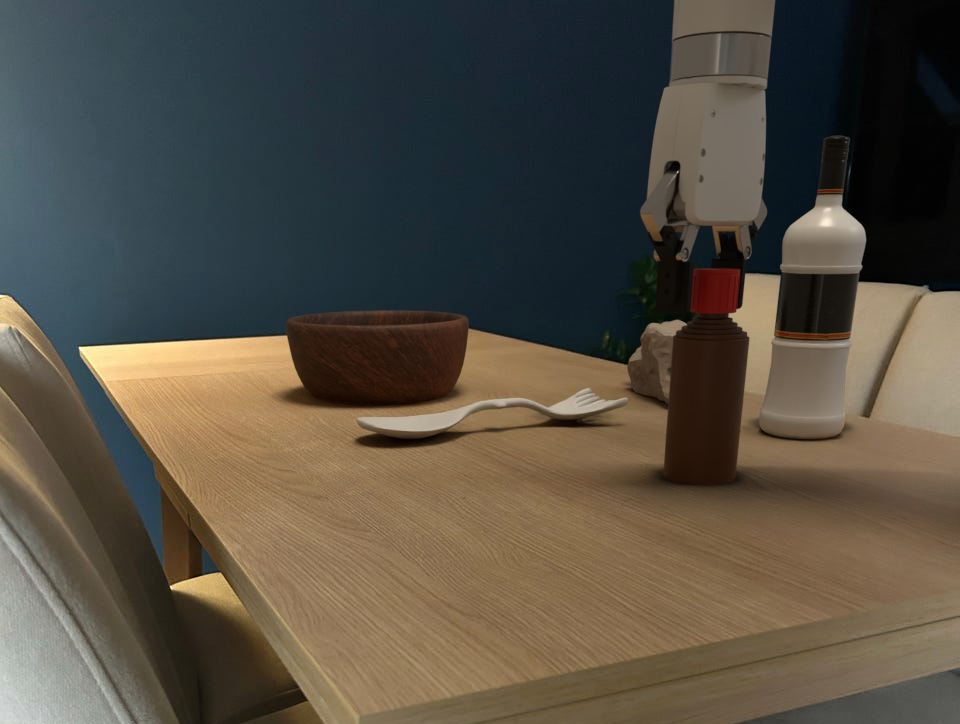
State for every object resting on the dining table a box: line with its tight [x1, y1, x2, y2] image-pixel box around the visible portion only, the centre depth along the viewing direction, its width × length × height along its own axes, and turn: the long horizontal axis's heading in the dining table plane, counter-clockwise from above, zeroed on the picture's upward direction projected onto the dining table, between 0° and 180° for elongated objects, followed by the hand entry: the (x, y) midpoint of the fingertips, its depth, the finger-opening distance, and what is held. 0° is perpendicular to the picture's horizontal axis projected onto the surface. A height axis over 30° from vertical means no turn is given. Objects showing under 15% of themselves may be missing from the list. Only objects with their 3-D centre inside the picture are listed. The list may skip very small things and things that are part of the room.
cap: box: [690, 267, 740, 315], centre depth 82 cm, size 4×4×3 cm
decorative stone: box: [626, 319, 687, 405], centre depth 130 cm, size 20×8×10 cm, turn 12°
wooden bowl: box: [284, 309, 470, 405], centre depth 135 cm, size 25×25×10 cm
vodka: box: [758, 135, 867, 440], centre depth 104 cm, size 9×9×30 cm
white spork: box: [356, 387, 629, 440], centre depth 111 cm, size 9×32×4 cm, turn 116°
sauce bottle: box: [662, 313, 751, 486], centre depth 85 cm, size 6×6×18 cm
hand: (699, 308), depth 82 cm, fingers open, 6 cm apart
